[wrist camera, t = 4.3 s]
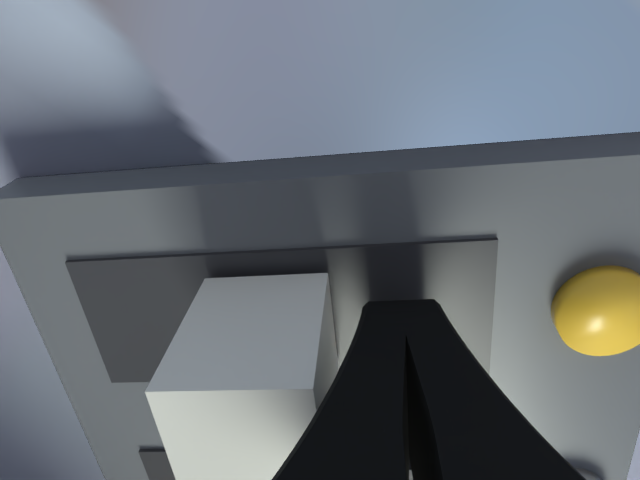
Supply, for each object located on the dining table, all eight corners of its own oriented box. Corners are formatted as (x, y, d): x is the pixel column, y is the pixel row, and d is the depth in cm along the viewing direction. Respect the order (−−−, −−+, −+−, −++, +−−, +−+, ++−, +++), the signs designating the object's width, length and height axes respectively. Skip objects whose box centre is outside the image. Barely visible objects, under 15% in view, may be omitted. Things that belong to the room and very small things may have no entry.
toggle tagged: (327, 272, 9) (313, 388, 7) (339, 370, 11) (330, 502, 8) (204, 278, 10) (144, 392, 7) (228, 372, 11) (183, 501, 8)
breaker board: (673, 129, 9) (729, 157, 8) (588, 512, 14) (612, 571, 13) (18, 178, 11) (-35, 209, 9) (150, 507, 16) (129, 559, 14)
